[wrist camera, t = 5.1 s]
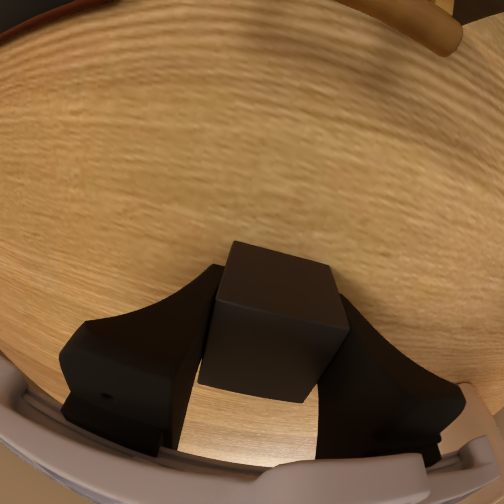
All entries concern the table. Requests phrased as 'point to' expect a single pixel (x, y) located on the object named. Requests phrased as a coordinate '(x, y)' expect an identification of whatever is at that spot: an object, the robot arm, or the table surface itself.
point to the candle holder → (472, 426)
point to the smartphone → (36, 13)
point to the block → (272, 325)
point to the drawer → (429, 18)
